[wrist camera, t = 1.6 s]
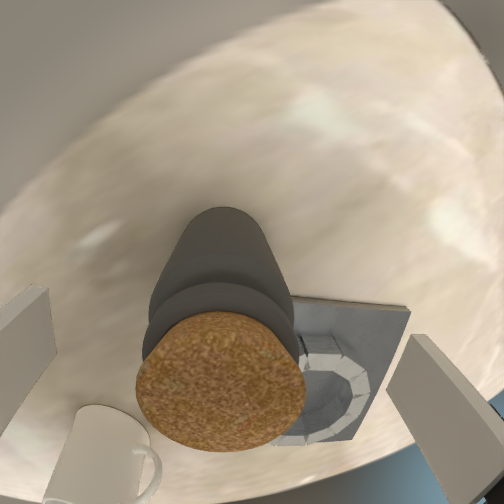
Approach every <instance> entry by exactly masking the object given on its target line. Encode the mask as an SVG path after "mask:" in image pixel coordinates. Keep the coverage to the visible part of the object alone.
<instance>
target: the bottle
mask: <svg viewBox="0 0 504 504" xmlns="http://www.w3.org/2000/svg"><path fill="white" fill-rule="evenodd" d="M294 320H295V317H294V307H293V302H292V299H291V296H290V293H289V290H288V288H287V285H286V283H285V281H284V278H283V276H282V274H281V271H280V269H279V267H278V264H277V262H276V260H275V258H274V256H273V254H272V251H271V249H270V247H269V245H268V243H267V241H266V238H265V236H264V234H263V232H262V230H261V229H260V227H259V226H258V224H257V223H256V222H255V221H254V220H253V219H252V218H251V217H250V216H249V215H247V214H246V213H244V212H242V211H240V210H238V209H234V208H229V207H217V208H212V209H209V210H207V211H205V212H203V213H201V214H199V215H198V216H197V217H195V218H194V219H193V220H192V221H191V222H190V224H189V225H188V227H187V228H186V230H185V231H184V233H183V235H182V236H181V238H180V240H179V242H178V244H177V246H176V247H175V249H174V251H173V253H172V255H171V257H170V259H169V260H168V262H167V264H166V266H165V268H164V270H163V272H162V274H161V276H160V278H159V280H158V282H157V285H156V287H155V289H154V291H153V294H152V297H151V301H150V305H149V326H148V328H147V331H146V334H145V337H144V341H143V348H142V358H143V364H142V366H141V367H140V370H139V372H138V375H137V380H136V397H137V401H138V404H139V407H140V409H141V411H142V413H143V414H144V416H145V417H146V419H147V420H148V421H149V422H150V423H151V425H152V426H153V427H154V428H156V429H157V430H158V431H159V432H161V433H162V434H163V435H165V436H166V437H168V438H169V439H171V440H173V441H176V442H178V443H180V444H182V445H185V446H188V447H191V448H194V449H198V450H204V451H209V452H235V451H243V450H247V449H252V448H255V447H258V446H262V445H264V444H266V443H268V442H270V441H272V440H274V439H276V438H277V437H279V436H280V435H282V434H283V433H285V432H286V431H287V430H288V429H289V428H290V427H291V426H292V425H293V424H294V423H295V421H296V420H297V419H298V417H299V415H300V414H301V412H302V410H303V407H304V404H305V400H306V385H305V379H304V377H303V374H302V372H301V370H300V368H299V366H298V365H299V345H298V340H297V337H296V334H295V332H294V329H293V328H294Z"/></svg>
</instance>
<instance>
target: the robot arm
mask: <svg viewBox="0 0 504 504" xmlns="http://www.w3.org/2000/svg"><path fill="white" fill-rule="evenodd" d="M56 354H57V349H56V344H55V338H54V332H53V325H52V318H51V310H50V302H49V292H48V288H45V287H40V286H36V285H32V284H31V285H30V286H29V287H28V288H26V289H25V290H24V291H23V292H21V293H20V294H19V295H17V296H16V297H15V298H14V299H13V300H11V301H10V302H9V303H8V304H6V305H5V306H4V307H3V308H2V309H0V437H1V435H2V433H3V432H4V430H5V429H6V427H7V425H8V424H9V422H10V421H11V419H12V417H13V416H14V414H15V413H16V411H17V410H18V408H19V407H20V405H21V404H22V402H23V401H24V399H25V398H26V396H27V395H28V393H29V392H30V390H31V389H32V387H33V386H34V385H35V383H36V382H37V380H38V379H39V377H40V376H41V375H42V373H43V372H44V370H45V369H46V368H47V366H48V365H49V363H50V362H51V361H52V359H53V358H54V357H55V355H56ZM386 391H387V393H388V395H389V396H390V398H391V400H392V401H393V403H394V405H395V406H396V408H397V410H398V412H399V413H400V415H401V417H402V418H403V420H404V422H405V424H406V425H407V427H408V429H409V431H410V432H411V434H412V436H413V438H414V439H415V441H416V443H417V445H418V446H419V448H420V450H421V452H422V453H423V455H424V457H425V459H426V461H427V463H428V464H429V466H430V468H431V470H432V472H433V473H434V475H435V477H436V479H437V481H438V483H439V485H440V486H441V488H442V490H443V492H444V494H445V496H446V497H447V500H448V502H449V504H476V503H478V502H479V501H480V500H481V499H482V498H483V497H485V499H486V502H485V503H484V504H504V419H503V418H502V417H500V414H499V413H498V412H497V410H496V409H495V408H494V407H493V406H492V405H491V404H489V403H488V402H487V401H486V400H485V399H484V398H483V396H482V395H481V394H480V393H479V392H478V391H477V390H476V388H475V387H474V386H473V385H472V384H471V383H470V382H469V381H468V379H467V378H466V377H465V376H464V375H463V374H462V373H461V372H460V370H459V369H458V368H457V367H456V366H455V365H454V364H453V363H452V362H451V361H450V360H449V358H448V357H447V356H446V355H445V354H444V353H443V352H442V351H441V350H440V349H439V348H438V347H437V346H436V344H435V343H434V342H433V341H432V340H431V339H430V338H429V337H428V336H427V335H426V334H411V335H410V338H409V340H408V342H407V345H406V347H405V349H404V352H403V354H402V356H401V359H400V361H399V363H398V365H397V367H396V370H395V372H394V374H393V376H392V378H391V380H390V382H389V384H388V386H387V388H386Z"/></svg>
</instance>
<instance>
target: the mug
mask: <svg viewBox="0 0 504 504" xmlns="http://www.w3.org/2000/svg"><path fill="white" fill-rule="evenodd" d="M149 445H150V438H149V435H148V433H147V431H146V430H145V429H144V427H143V426H142V425H141V424H140V423H139V422H138V421H136V420H135V419H134V418H132V417H131V416H129V415H127V414H126V413H124V412H122V411H119V410H117V409H114V408H111V407H108V406H103V405H88V406H84V407H82V408H80V409H79V410H78V411H77V413H76V415H75V420H74V424H73V427H72V429H71V431H70V434H69V436H68V438H67V441H66V443H65V445H64V447H63V450H62V452H61V454H60V457H59V459H58V462H57V464H56V466H55V469H54V471H53V474H52V476H51V479H50V481H49V484H48V487H47V489H46V492H45V494H44V497H43V500H42V502H43V504H145V503H146V502H147V501H149V500H150V498H151V497H152V496H153V495H154V493H155V492H156V490H157V489H158V487H159V484H160V482H161V478H162V463H161V460H160V458H159V456H158V454H157V453H156V452H155V451H154V450H153V449H152V448H150V447H149ZM145 454H147V455H149V456H151V457H152V458H153V460H154V463H155V472H154V476H153V479H152V481H151V483H150V485H149V486H148V488H147V489H146V490H145V491H144V492H143V493H142V494H141V495H140V496H138V497H137V494H138V489H139V483H140V478H141V473H142V468H143V463H144V458H145Z"/></svg>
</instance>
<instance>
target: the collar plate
mask: <svg viewBox="0 0 504 504" xmlns="http://www.w3.org/2000/svg"><path fill="white" fill-rule="evenodd" d="M291 299H292V302H293V307H294V317H295V320H294V328H293V329H294V332H295V334H296V337H297V340H298V345H299V365H298V366H299V368H300V370H301V372H302V374H303V377H304V379H305V385H306V400H305V404H304V407H303V410H302V412H301V414H300V415H299V417H298V419H297V420H296V421H295V423H294V424H293V425H292V426H291V427H290V428H289V429H288V430H287V431H286V432H285V433H283V434H282V435H280V436H279V437H277V438H276V439H274V440H272V441H270V442H268V443H270V444H272V445H276V444H277V446H301V445H305V444H306V443H307V445H309V444H312V443H314V442H331V441H345V440H352V439H353V437H354V435H355V434H356V432H357V430H358V428H359V426H360V425H361V423H362V421H363V419H364V417H365V415H366V413H367V411H368V409H369V408H370V406H371V404H372V402H373V400H374V398H375V396H376V394H377V392H378V390H379V387H380V385H381V383H382V381H383V379H384V377H385V375H386V373H387V370H388V368H389V366H390V364H391V361H392V359H393V357H394V354H395V352H396V350H397V347H398V345H399V342H400V340H401V337H402V335H403V332H404V330H405V327H406V325H407V322H408V319H409V317H410V314H411V311H410V310H409V309H408V308H407V307H402V306H389V305H377V304H365V303H354V302H343V301H332V300H322V299H312V298H303V297H294V296H291Z"/></svg>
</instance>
